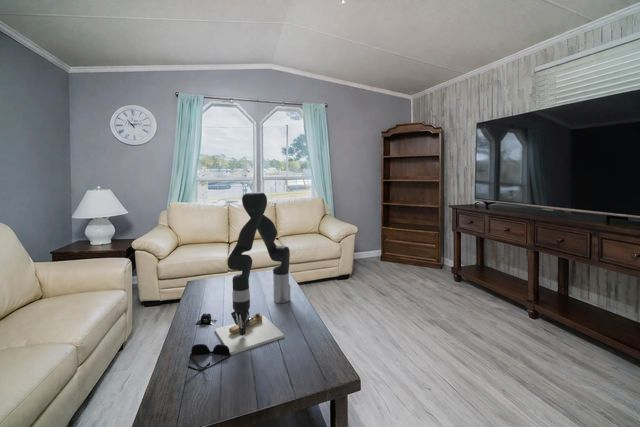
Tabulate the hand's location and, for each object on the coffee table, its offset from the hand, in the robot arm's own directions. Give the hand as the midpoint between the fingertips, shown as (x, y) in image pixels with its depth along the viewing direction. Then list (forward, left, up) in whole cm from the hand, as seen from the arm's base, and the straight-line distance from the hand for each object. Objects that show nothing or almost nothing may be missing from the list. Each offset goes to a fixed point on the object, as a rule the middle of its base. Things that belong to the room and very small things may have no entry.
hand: (242, 334), depth 136 cm
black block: (+10, -26, -3) cm, 28 cm away
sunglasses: (+19, +9, -3) cm, 21 cm away
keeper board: (-4, -3, -2) cm, 5 cm away
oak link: (-5, -8, -1) cm, 9 cm away
